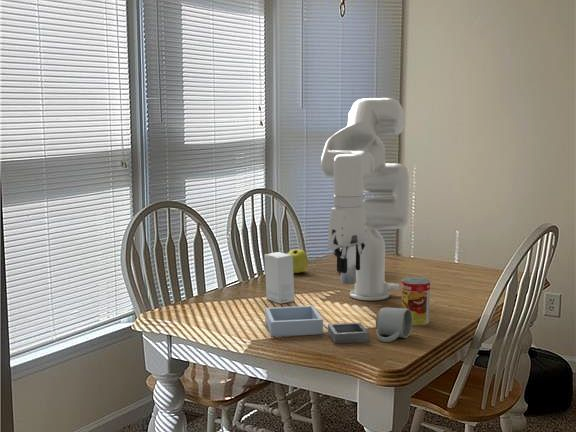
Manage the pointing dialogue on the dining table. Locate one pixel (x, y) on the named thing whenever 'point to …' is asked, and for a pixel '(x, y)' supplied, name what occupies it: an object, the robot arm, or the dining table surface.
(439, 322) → the dining table surface
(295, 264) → the apple
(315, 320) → the bin
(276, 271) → the skincare box
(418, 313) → the canned food
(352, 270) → the black capped silver cylinder
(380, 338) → the ceramic mug
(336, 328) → the socket collar
